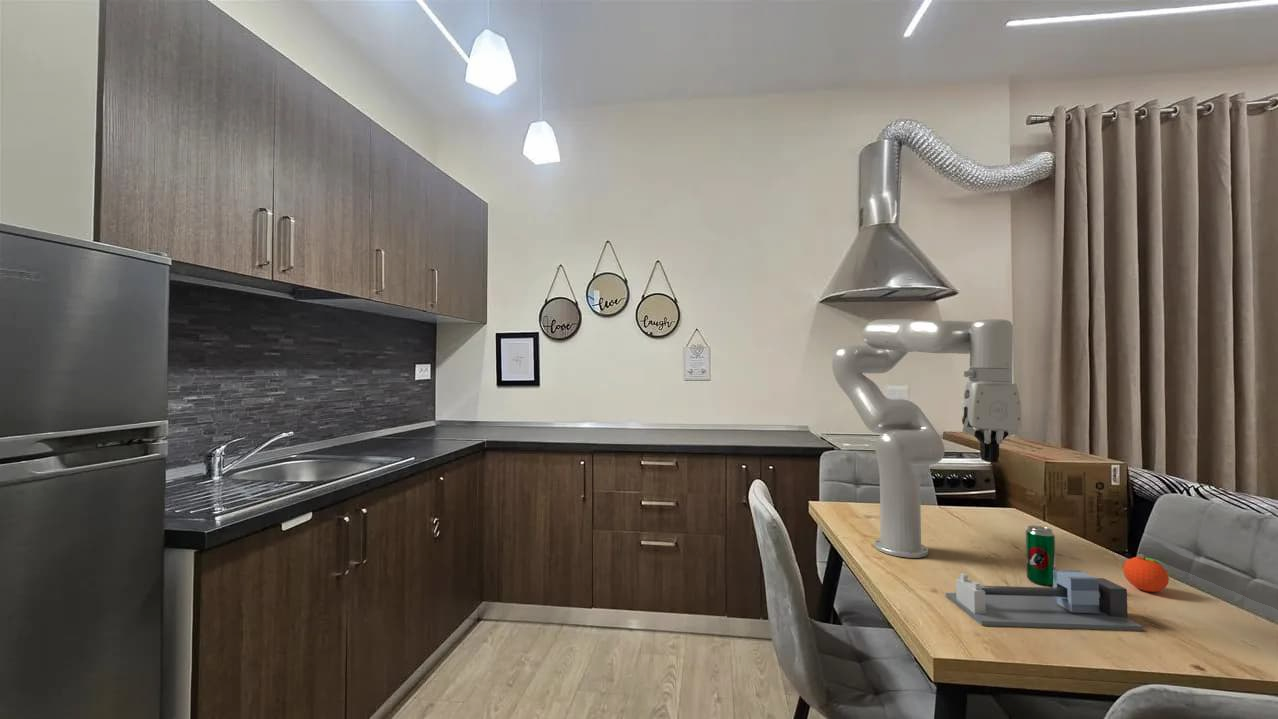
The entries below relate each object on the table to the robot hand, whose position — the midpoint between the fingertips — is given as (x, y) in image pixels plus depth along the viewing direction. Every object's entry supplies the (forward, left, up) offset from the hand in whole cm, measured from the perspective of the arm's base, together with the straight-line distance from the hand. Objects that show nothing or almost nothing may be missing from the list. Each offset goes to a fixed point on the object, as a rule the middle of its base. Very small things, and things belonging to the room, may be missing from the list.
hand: (989, 461), depth 107 cm
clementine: (-3, +34, -28) cm, 44 cm away
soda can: (-6, +14, -28) cm, 32 cm away
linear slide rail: (+9, +3, -28) cm, 30 cm away
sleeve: (+9, +10, -27) cm, 30 cm away
